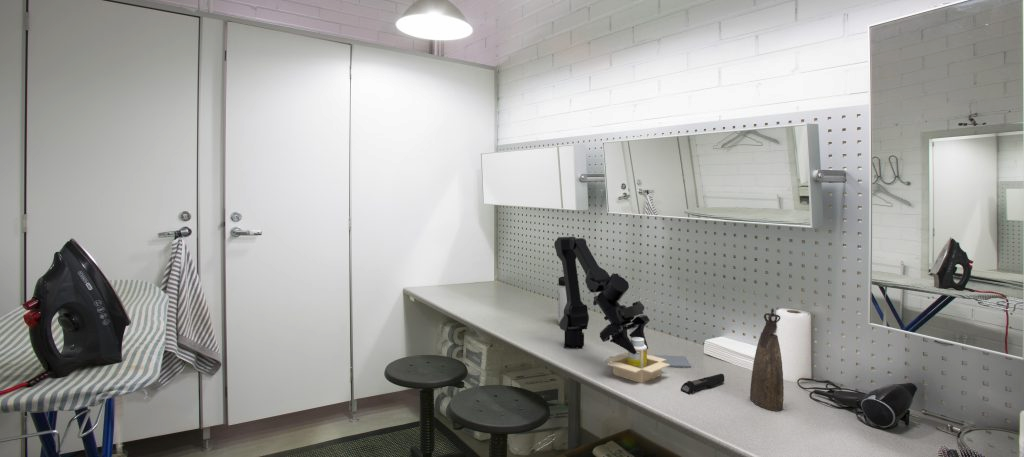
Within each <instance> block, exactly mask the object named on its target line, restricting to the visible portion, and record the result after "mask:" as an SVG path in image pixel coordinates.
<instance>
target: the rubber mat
mask: <svg viewBox="0 0 1024 457" xmlns="http://www.w3.org/2000/svg"><path fill="white" fill-rule="evenodd" d="M653 356H655V357H659V358H663V359H666V361H665V362H663V363H667V364H670V366H668V367H667V368H678V369H679V368H680V369H681V368H684V369H691V368H692V366H691V363H690V362H689V360H688V359H687V356H685V355H661V354H660V355H659V354H654V355H653Z"/></svg>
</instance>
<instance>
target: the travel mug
mask: <svg viewBox="0 0 1024 457" xmlns="http://www.w3.org/2000/svg"><path fill="white" fill-rule="evenodd" d="M557 280H558V282H557V283H558V287H557V288H558V289H557V290H558V291H557V295H558V296H557V298H558V299H557V302H558V306H557V308H558V309H557V310H558V312H557V314H558V315H557V316H558V323H557V324H558V325H559V326H560V324H559V323H560V321H561V319H562V318H563V316H564V308H565V306H566V304H567V297H566V289H565V281H564V276H560V277H558V279H557Z"/></svg>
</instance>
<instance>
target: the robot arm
mask: <svg viewBox="0 0 1024 457" xmlns="http://www.w3.org/2000/svg"><path fill="white" fill-rule="evenodd" d="M553 243H554V244H553V245H554V246H553V247H554V249H555V253H556V256H557V257H558V259H560V261H561V262H562V264H561V265H562V270H563V272H562V273H563V277H564V281H565V289H566V297H567V304H566V306H565V308H564V316H563V318H562V319H561V321H560V323H559V324H560V325H559V324H558V325H559V329H560V330H561V331H563V332H564V344H563V349H583V348H584V346H585V332H583V330H587V329H588V325H589V320H590V316H589V311H588V306H587V304H584V302H583V301H582V299H581V298H582V297H581V292H580V284H579V278H578V277H579V276H578V268H577V261H578V262H579V264H580V266H581V268H582V270H583V272H584V273H585V279H584V281H585V285H586V288H587V290H588V291H589V292H590V293H593V294H594V293H598V294H597V295H595V296H594V297H593V303H592V304H593V306H595V307H596V306H597V305H598V306H599V308H600V309H601V311H602V313H603V314H604V315H605V316H604V317H603V319H604V320H605V321H609V324H607V325H606V326H605V327H604V328H603V329H602V330H601V331H600V332H599V338H600V339H601V341H602V342H603V343H604V342H607V341H609V342H610V343H613V344H614V345H618V346H620V347H621V348H623V349H625V350H626V351H627V352H628V351H629V352H631V353H632V354H636V353H637V352H636V350H635V348H634V346H633V345H632V343H631V338H632V337H641V338H644V344H645V345H646V346H647V350H648V349H649V346H648V344H647V343H648V342H647V339H646V336H645V333H644V332H645V331H644V329H645V326H646V325H647V324H649V322H650V321H651V319H650V318H649V317H648V315H646V314H644V313H645V312H644V311H645V305H644V304H643V303H642V302H641V301H640V300H638V301H635V302H632V305H631V306H626V305H624V304H622V305H621V303H620V302H619V301H620V300H621V299H622V298H623V296H624V295H625V294H626V293H627V291H628V290H629V288H630V287H629V285H630V284H629V282H628V281H627V280H626V279H625V278H624V277H622V276H620V275H619V273H612V274H611V275H610V274H609V273H608V272H607V271H606V269H604V268H602V267H601V266H599V264H598V263H597V260H596V259H595V257H594V255H593V253H592V252H591V249H590V248H589V247H588V245H587V239H585V238H583V237H578V238H577V237H575V236H558V237H557V239H556V240H555V241H554V242H553ZM628 330H629V331H630V333H629V335H628ZM628 336H630V338H629V337H628Z"/></svg>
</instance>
